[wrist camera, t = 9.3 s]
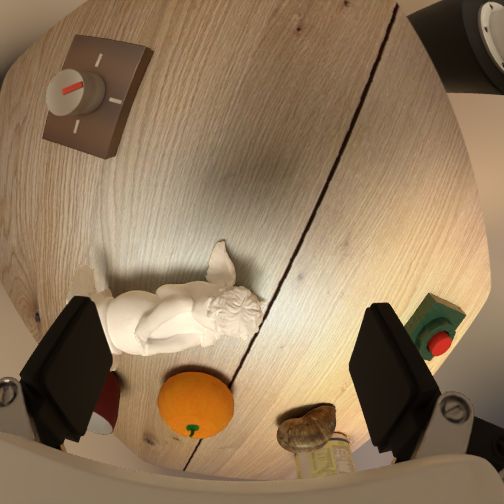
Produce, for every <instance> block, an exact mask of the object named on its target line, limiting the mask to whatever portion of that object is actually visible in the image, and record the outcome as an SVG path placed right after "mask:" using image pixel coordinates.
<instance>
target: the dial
mask: <svg viewBox="0 0 504 504" xmlns="http://www.w3.org/2000/svg"><path fill="white" fill-rule="evenodd" d="M104 96H105V84H104V81H103V79H102V78H101V77H100V76H99V75H98V74H96V73H91V72H86V71H81V70H75V69H64V70H62V71H60V72H59V73H57V74H56V75H55V76H54V77H53V78H52V80H51V81H50V83H49V85H48V87H47V91H46V104H47V107H48V109H49V110H50V111H51V112H52V113H53V114H54V115H57V116H68V115H80V114H88V113H91V112H93V111H94V110H96V109H97V108H98V107H99V106H100V104H101V103H102V101H103V99H104Z"/></svg>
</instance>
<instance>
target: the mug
mask: <svg viewBox="0 0 504 504" xmlns="http://www.w3.org/2000/svg"><path fill="white" fill-rule="evenodd" d="M119 399H120V388H119V383H118V379H117V377H116V375H115V374H114V373H113V372H111V371H109V374H108V376H107V379H106V381H105V383H104V386H103V388H102V391H101V393H100V396H99V398H98V401H97V403H96V406H95V409H94V411H93V414H92V416H91V419H90V422H89V425H88V427H87V430H89V431H91V432H94V433H97V434H103V435H106V434H111V433H112V432H113V430H114V427H115V424H116V421H117V417H118V408H119Z"/></svg>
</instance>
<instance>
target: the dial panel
mask: <svg viewBox="0 0 504 504" xmlns="http://www.w3.org/2000/svg"><path fill="white" fill-rule="evenodd" d="M152 54H153V51H152V50H151V49H149V48H147V47H145V46H141V45H136V44H132V43H127V42H121V41H116V40H110V39H104V38H98V37H91V36H83V35H75V37H74V39H73V42H72V44H71V47H70V49H69V52H68V54H67V57H66V59H65V62H64V65H63V68H62V70H64V69H75V70H81V71H86V72H91V73H96V74H98V75H99V76H100V77H101V78H102V79H103V81H104V84H105V96H104V99H103V101H102V103H101V104H100V106H99V107H98V108H97V109H96V110H94V111H93V112H91V113H88V114H80V115H68V116H57V115H54V114H53V113H52V112H51V111H50V110H49V112H48V116H47V120H46V124H45V128H44V133H43V137H42V139H45V140H48V141H51V142H54V143H58V144H61V145H64V146H67V147H70V148H73V149H76V150H79V151H82V152H85V153H88V154H91V155H94V156H97V157H100V158H103V159H108V158H111V157H114V156H115V155H116V151H117V148H118V145H119V141H120V138H121V135H122V132H123V129H124V126H125V123H126V120H127V117H128V114H129V111H130V108H131V106H132V103H133V100H134V98H135V95H136V92H137V90H138V87H139V85H140V82H141V80H142V77H143V75H144V72H145V70H146V68H147V65H148V63H149V61H150V58H151V56H152ZM62 70H61V71H62Z"/></svg>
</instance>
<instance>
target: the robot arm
mask: <svg viewBox="0 0 504 504" xmlns="http://www.w3.org/2000/svg"><path fill="white" fill-rule="evenodd" d="M478 28H479V32H480V36H481V39H482V41H483V44H484V46H485V48H486V51H487V52H488V54H489V56H490V58H491V59H492V61H493V62H494V64H495V65H496V66H497V68H498V69H499V70H500V71H501V72H502V73H503V74H504V7H503V6H502V5H500V4H498V3H495V2H487V3H484V4H483V5H481V7H480V8H479V11H478ZM112 364H113V356H112V353H111V350H110V347H109V345H108V342H107V339H106V336H105V333H104V330H103V327H102V324H101V320H100V317H99V314H98V311H97V307H96V304H95V302H94V301H92V300H91V298H90V297H87V296H74V297H72V299H71V300H70V301H69V303H68V304H67V305H66V307H65V308H64V309H63V311H62V312H61V313H60V315H59V316H58V318H57V319H56V320H55V322H54V323H53V324H52V326H51V327H50V329H49V330H48V331H47V333H46V334H45V336H44V337H43V339H42V340H41V342H40V343H39V345H38V346H37V348H36V349H35V351H34V352H33V354H32V355H31V357H30V358H29V360H28V361H27V363H26V364H25V366H24V368H23V369H22V371H21V372H20V374H19V375H20V377H21V380H20V381H18V380H17V379H15V378H12V377H4V378H1V379H0V504H504V429H503V428H500V427H498V426H496V425H494V424H491V423H489V422H487V421H484V420H482V419H480V418H477V417H475V416H474V407H473V404H472V403H471V401H470V400H469V399H468V398H467V397H466V396H465V395H463V394H461V393H459V392H455V391H448V392H445V393H443V394H441V392H440V390H439V387H438V385H437V383H436V381H435V380H434V378H433V376H432V374H431V372H430V370H429V369H428V367H427V365H426V363H425V361H424V360H423V358H422V356H421V354H420V353H419V351H418V349H417V348H416V346H415V344H414V343H413V341H412V339H411V338H410V336H409V334H408V333H407V331H406V329H405V328H404V326H403V324H402V323H401V321H400V320H399V318H398V316H397V315H396V313H395V312H394V310H393V308H392V307H391V305H390V304H389V303H387V302H386V303H373V304H371V306H370V307H368V308H367V309H366V311H365V314H364V318H363V321H362V324H361V328H360V331H359V334H358V337H357V340H356V344H355V347H354V350H353V353H352V356H351V359H350V362H349V371H350V374H351V377H352V380H353V383H354V387H355V390H356V393H357V396H358V399H359V402H360V405H361V408H362V411H363V415H364V418H365V421H366V424H367V428H368V431H369V434H370V437H371V441H372V444H373V445H374V446H377V447H378V450H379V453H383V452H387V451H392V453H393V456H394V459H393V461H392V462H391V464H390V465H388V466H384V467H379V468H375V469H369V470H364V471H358V472H352V473H346V474H340V475H334V476H326V477H318V478H309V479H298V480H283V481H253V482H252V481H247V482H246V481H215V480H201V479H189V478H180V477H172V476H165V475H159V474H153V473H147V472H141V471H136V470H131V469H126V468H121V467H117V466H113V465H109V464H105V463H101V462H97V461H93V460H90V459H87V458H83V457H80V456H77V455H73V454H70V453H67V452H66V449H65V447H64V444H63V443H64V440H65V438H66V439H68V440H71V441H74V442H79V440H80V437H81V436H84V434H85V432H86V430H87V427H88V425H89V422H90V419H91V416H92V414H93V411H94V409H95V406H96V403H97V401H98V398H99V396H100V393H101V391H102V388H103V386H104V383H105V381H106V379H107V376H108V374H109V371H110V369H111V367H112Z"/></svg>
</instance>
